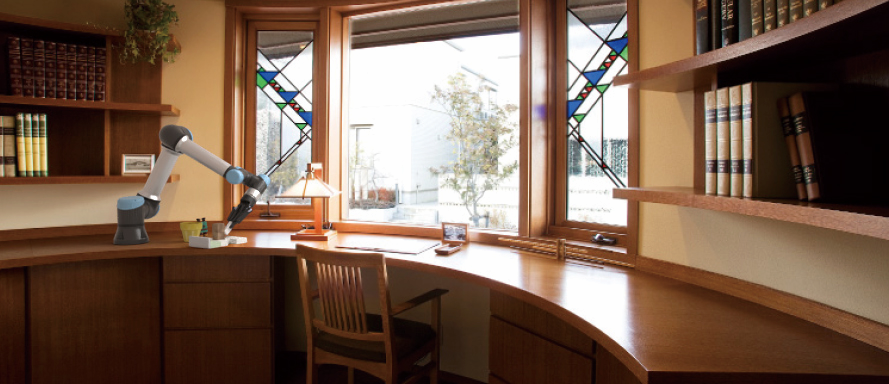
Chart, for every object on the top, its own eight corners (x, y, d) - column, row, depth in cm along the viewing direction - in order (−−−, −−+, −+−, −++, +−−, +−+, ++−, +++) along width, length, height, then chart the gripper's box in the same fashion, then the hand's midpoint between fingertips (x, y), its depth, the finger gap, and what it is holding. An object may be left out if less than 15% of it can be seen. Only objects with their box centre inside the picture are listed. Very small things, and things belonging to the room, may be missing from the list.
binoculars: (193, 218, 285) (209, 216, 283) (195, 236, 285) (211, 235, 284) (183, 219, 276) (199, 218, 274) (185, 238, 276) (201, 237, 275)
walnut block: (219, 238, 255) (218, 223, 254) (224, 239, 253) (224, 223, 252) (212, 239, 251) (212, 223, 251) (217, 240, 249) (217, 224, 249)
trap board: (227, 240, 266) (227, 231, 266) (247, 242, 260) (246, 232, 260) (189, 246, 246) (188, 236, 245) (208, 248, 239) (208, 238, 239)
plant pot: (206, 240, 267) (206, 221, 266) (195, 243, 256) (194, 223, 256) (188, 239, 268) (187, 221, 267) (175, 242, 257) (175, 223, 257)
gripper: (263, 203, 268) (238, 238, 254) (245, 202, 274) (220, 236, 260) (255, 194, 263) (229, 229, 249) (237, 193, 269) (211, 227, 255)
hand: (224, 233), depth 254 cm, fingers closed
